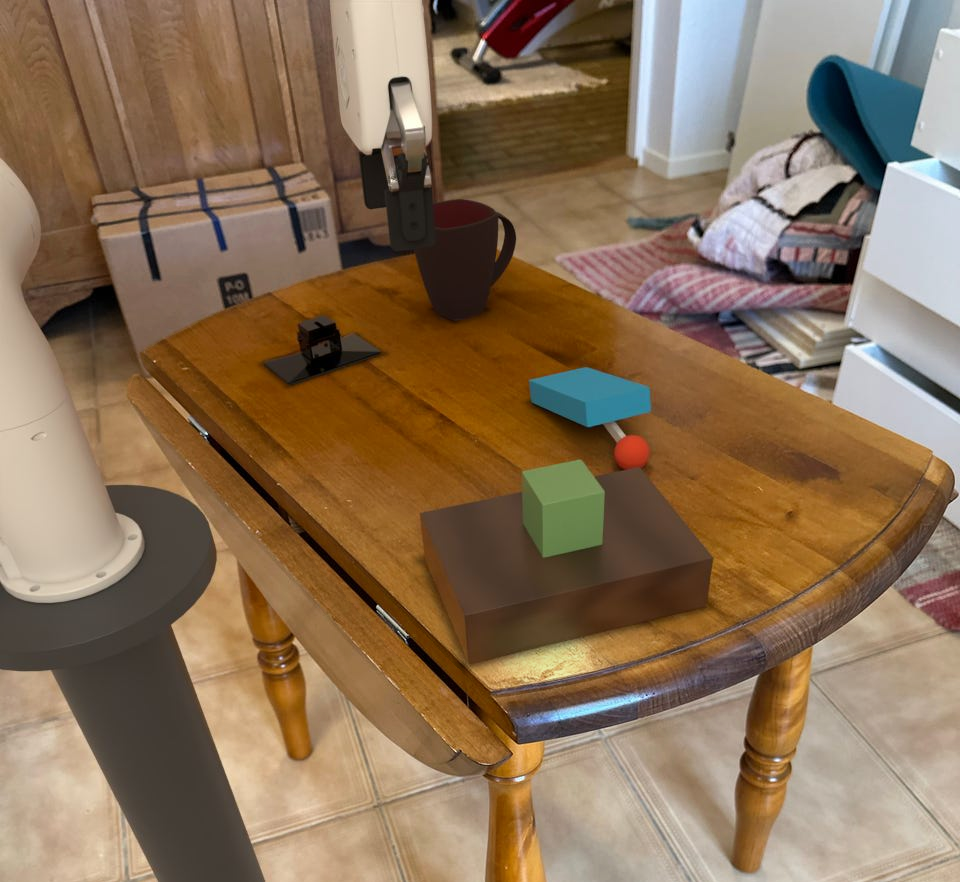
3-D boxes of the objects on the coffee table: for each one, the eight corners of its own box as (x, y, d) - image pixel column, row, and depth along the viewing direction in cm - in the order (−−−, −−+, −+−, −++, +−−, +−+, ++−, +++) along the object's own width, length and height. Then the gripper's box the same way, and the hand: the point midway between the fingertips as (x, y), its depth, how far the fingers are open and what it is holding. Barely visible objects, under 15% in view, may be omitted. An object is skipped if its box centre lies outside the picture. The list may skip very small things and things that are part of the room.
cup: (406, 309, 121) (396, 213, 113) (491, 281, 127) (487, 187, 119) (449, 333, 115) (441, 233, 107) (536, 302, 121) (535, 205, 113)
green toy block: (542, 558, 72) (542, 504, 69) (522, 523, 76) (521, 471, 73) (602, 545, 73) (605, 491, 70) (579, 511, 77) (581, 458, 73)
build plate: (289, 386, 107) (281, 348, 104) (263, 364, 112) (254, 327, 109) (381, 354, 112) (376, 316, 109) (352, 334, 117) (347, 298, 113)
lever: (536, 443, 103) (609, 482, 88) (528, 380, 100) (602, 409, 85) (592, 429, 105) (673, 465, 89) (586, 366, 102) (669, 393, 86)
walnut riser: (468, 664, 71) (464, 615, 68) (424, 560, 81) (419, 512, 78) (706, 607, 75) (713, 557, 71) (636, 513, 85) (639, 466, 81)
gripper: (292, -69, 63) (330, 198, 74) (333, -41, 50) (371, 274, 62) (400, -78, 64) (421, 186, 76) (466, -52, 52) (479, 258, 63)
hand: (398, 225), depth 69 cm, fingers open, 9 cm apart
